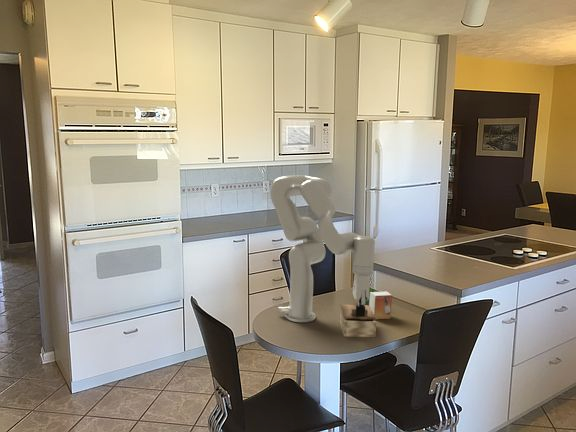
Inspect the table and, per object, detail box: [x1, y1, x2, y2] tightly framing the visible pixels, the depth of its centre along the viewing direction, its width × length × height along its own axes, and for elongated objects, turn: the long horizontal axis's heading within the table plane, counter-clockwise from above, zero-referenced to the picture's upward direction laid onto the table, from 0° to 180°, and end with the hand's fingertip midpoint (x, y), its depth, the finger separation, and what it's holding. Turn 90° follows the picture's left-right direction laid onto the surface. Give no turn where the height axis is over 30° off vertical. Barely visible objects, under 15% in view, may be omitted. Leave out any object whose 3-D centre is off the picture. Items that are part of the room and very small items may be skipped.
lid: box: [339, 304, 376, 320], centre depth 192 cm, size 12×14×3 cm
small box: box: [369, 291, 393, 320], centre depth 205 cm, size 8×6×10 cm
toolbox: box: [339, 310, 377, 338], centre depth 190 cm, size 12×14×6 cm
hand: (360, 315), depth 184 cm, fingers closed
